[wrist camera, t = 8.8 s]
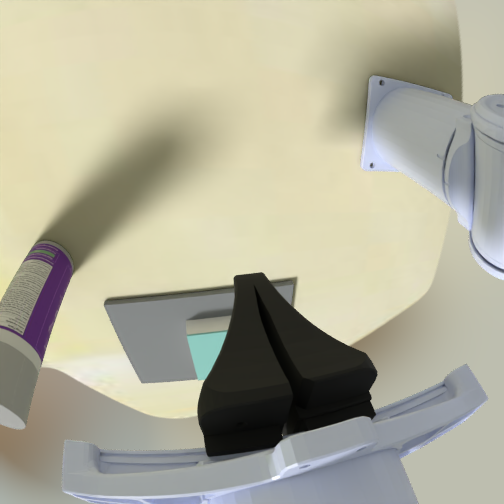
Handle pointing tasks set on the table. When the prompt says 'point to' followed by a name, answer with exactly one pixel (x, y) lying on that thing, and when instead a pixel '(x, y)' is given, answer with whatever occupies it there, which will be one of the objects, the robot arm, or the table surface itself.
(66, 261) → the container
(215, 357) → the tile
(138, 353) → the mat
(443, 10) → the table surface
